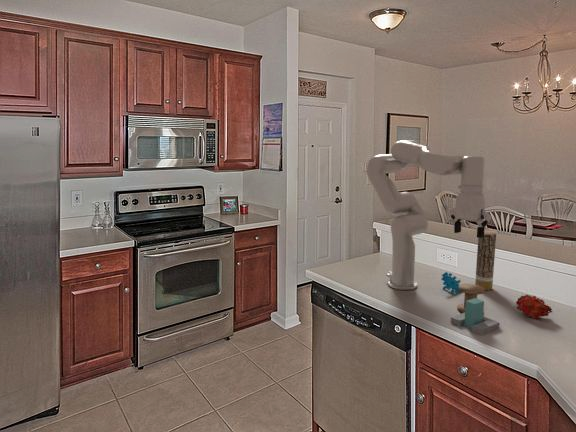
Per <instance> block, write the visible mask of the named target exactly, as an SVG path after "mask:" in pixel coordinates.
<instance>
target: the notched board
mask: <svg viewBox="0 0 576 432" xmlns="http://www.w3.org/2000/svg"><path fill="white" fill-rule="evenodd" d="M450 323H451V324H453V325H456V326H458V327H461V326H463V325H464V323H465V313H460V314H456V315H453V316H451V318H450ZM499 328H500V322H499V321H497V320H494V319H491V318H488V317H486V316H484V315H483V322H481V323H478V324H476V325H473V326H472V328H471V332H473V333H475V334H477V335H481V336H482V335H485V334H487V333H490V332H492V331H496V330H498V329H499Z"/></svg>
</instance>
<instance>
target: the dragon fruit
mask: <svg viewBox="0 0 576 432" xmlns="http://www.w3.org/2000/svg"><path fill="white" fill-rule="evenodd" d="M515 303H516V305H517V306H516V310H517V311H521V312H522V313H523V314H524V316H525V317H526V318H529V317H531V318H534V319H536V320H538V321H539V320H544V318H543V317H548V316H549V314H551V313H553V308H551V306H549V304H545V301H544V300H543V299H541V298H539V297H537V296H536V295H533V296H532V295H531V294H530V295H529V294H525V295H521V296H520V297H518V298H517V300H516V301H515Z"/></svg>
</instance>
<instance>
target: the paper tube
mask: <svg viewBox="0 0 576 432" xmlns="http://www.w3.org/2000/svg"><path fill="white" fill-rule="evenodd" d="M477 239H478V240H477V250H476V251H477V254H476V266H475V267H476V268H475V281H474V282H475V283H474V284H475V285H479V286H482V287H483V288H484V289H485V290H484V291H491V290H492V289H493V283H494V282H493V281H494V268H495V258H496V257H495V254H496V243H497V231H495V230H489V229H484V236H483V237H480V238H477Z"/></svg>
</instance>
